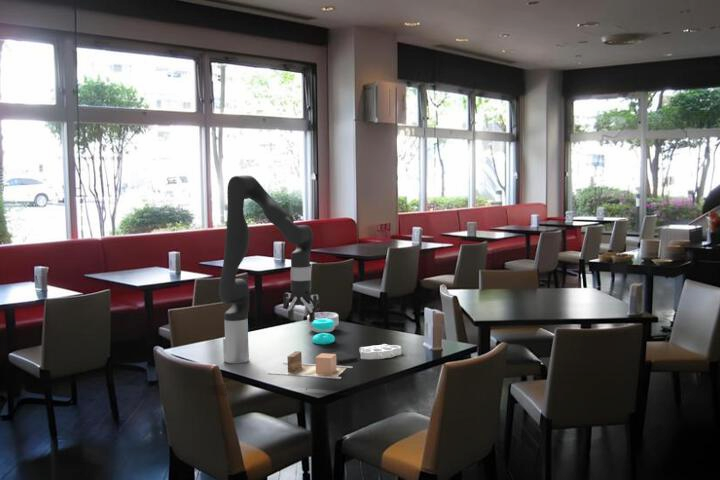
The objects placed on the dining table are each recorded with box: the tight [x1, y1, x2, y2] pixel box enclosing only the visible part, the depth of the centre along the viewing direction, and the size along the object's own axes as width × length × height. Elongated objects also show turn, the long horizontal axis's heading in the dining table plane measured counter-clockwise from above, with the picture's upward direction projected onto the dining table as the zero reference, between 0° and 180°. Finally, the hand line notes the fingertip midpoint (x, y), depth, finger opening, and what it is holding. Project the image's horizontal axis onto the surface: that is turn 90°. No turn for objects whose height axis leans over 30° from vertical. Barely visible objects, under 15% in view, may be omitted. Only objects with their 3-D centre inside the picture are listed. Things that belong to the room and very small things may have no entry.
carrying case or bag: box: [326, 350, 359, 365], centre depth 261 cm, size 11×3×15 cm
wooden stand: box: [286, 350, 347, 377], centre depth 244 cm, size 20×12×7 cm, turn 74°
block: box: [315, 352, 338, 374], centre depth 243 cm, size 6×6×6 cm
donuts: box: [312, 319, 336, 345], centre depth 293 cm, size 10×10×10 cm
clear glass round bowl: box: [306, 311, 340, 334], centre depth 317 cm, size 15×15×8 cm
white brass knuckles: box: [358, 343, 402, 360], centre depth 270 cm, size 3×18×15 cm
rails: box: [268, 362, 353, 380], centre depth 244 cm, size 28×15×2 cm, turn 74°
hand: (301, 321), depth 247 cm, fingers open, 8 cm apart
